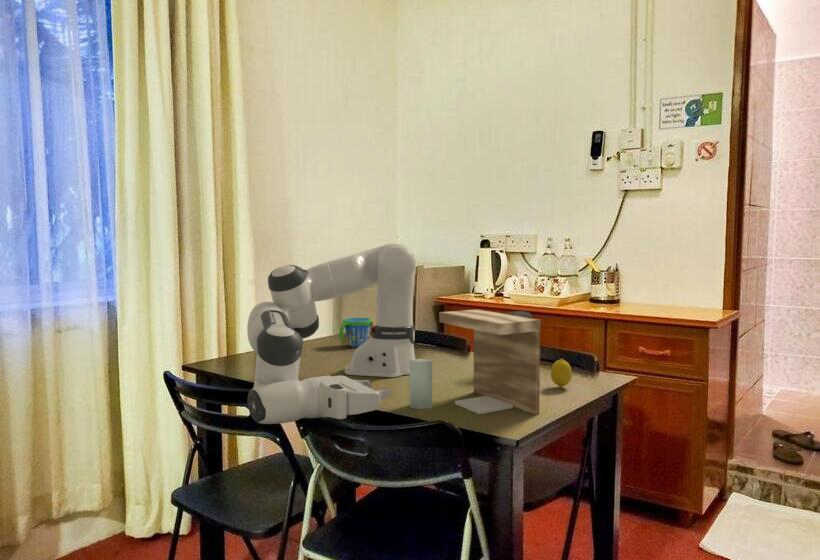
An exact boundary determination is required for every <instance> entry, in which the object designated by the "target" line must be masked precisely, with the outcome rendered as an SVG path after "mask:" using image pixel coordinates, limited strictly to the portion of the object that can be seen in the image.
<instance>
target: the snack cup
mask: <svg viewBox="0 0 820 560" xmlns="http://www.w3.org/2000/svg"><path fill="white" fill-rule="evenodd" d="M373 324H374V322H373V320H372V319H371V318H369V317H347V318H345V319H343V321H342V323H341V326H340V327H339V335H338V337H339V340H342V341H344V340H345V338H346V344H347V346H348V347H350V346H353V347H352V348H358V347H359V346H360V345H362V344H363V343H364V342H365V341H367V340H368V339H369V338H370V327H371V326H372V325H373ZM344 330H345V334H344Z"/></svg>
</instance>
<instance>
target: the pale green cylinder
mask: <svg viewBox="0 0 820 560" xmlns="http://www.w3.org/2000/svg"><path fill="white" fill-rule="evenodd" d="M408 375H409V376H408V377H409V408H411V409H413V410H414V409H415V410H428V409H431V408H432V407H433V361H432V360H430V359H424V358H422V359H421V358H417V359H416V358H415V360H411V361H409V374H408Z"/></svg>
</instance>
